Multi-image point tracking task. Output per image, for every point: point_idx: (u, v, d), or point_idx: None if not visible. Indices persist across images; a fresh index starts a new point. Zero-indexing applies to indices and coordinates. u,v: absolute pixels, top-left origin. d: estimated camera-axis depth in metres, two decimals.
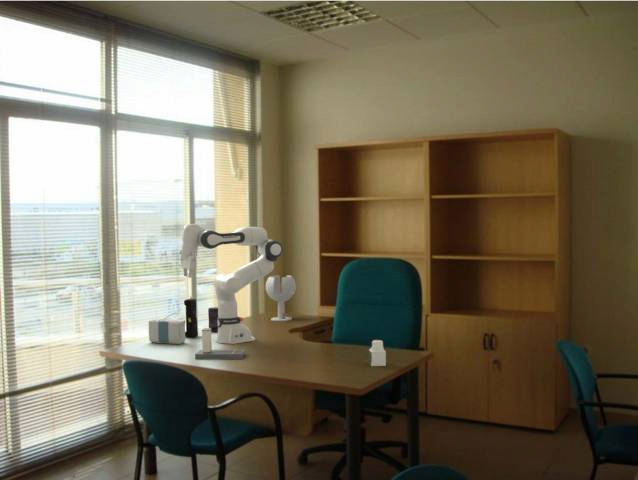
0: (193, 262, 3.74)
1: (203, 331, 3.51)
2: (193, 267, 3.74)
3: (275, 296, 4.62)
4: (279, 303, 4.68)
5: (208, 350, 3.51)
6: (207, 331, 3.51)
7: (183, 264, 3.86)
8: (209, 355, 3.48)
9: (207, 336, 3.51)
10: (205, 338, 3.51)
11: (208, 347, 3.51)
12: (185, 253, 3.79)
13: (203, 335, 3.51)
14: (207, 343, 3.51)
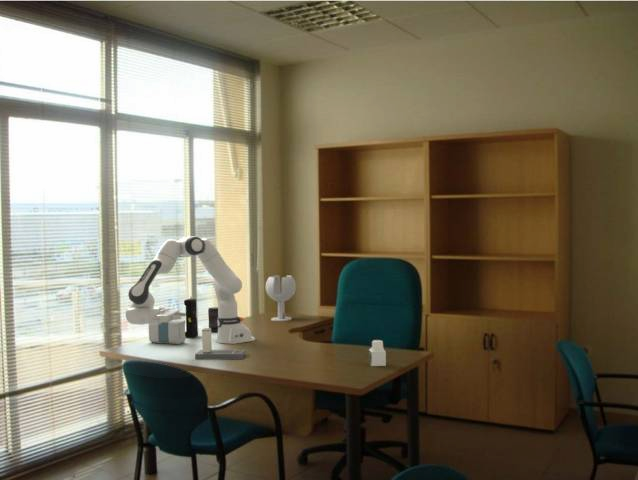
0: (161, 319, 3.45)
1: (203, 331, 3.51)
2: (166, 318, 3.44)
3: (275, 296, 4.62)
4: (279, 303, 4.68)
5: (208, 350, 3.51)
6: (207, 331, 3.51)
7: None
8: (209, 355, 3.48)
9: (207, 336, 3.51)
10: (205, 338, 3.51)
11: (208, 347, 3.51)
12: (156, 322, 3.52)
13: (203, 335, 3.51)
14: (207, 343, 3.51)
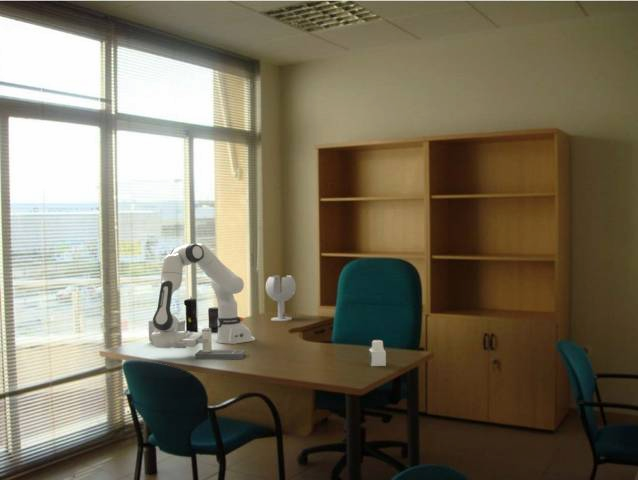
0: (187, 343, 3.44)
1: (203, 331, 3.51)
2: (192, 342, 3.44)
3: (275, 296, 4.62)
4: (279, 303, 4.68)
5: (208, 350, 3.51)
6: (207, 331, 3.51)
7: None
8: (209, 355, 3.48)
9: (207, 336, 3.51)
10: (205, 338, 3.51)
11: (208, 347, 3.51)
12: (182, 346, 3.52)
13: (203, 335, 3.51)
14: (207, 343, 3.51)
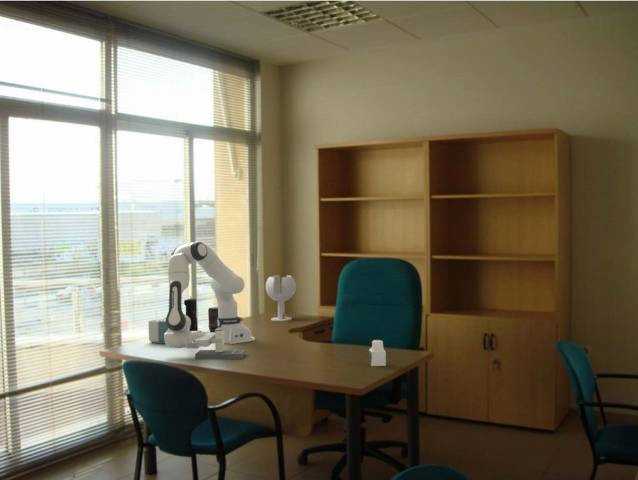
0: (200, 343, 3.44)
1: (216, 331, 3.50)
2: (205, 342, 3.43)
3: (275, 296, 4.62)
4: (279, 303, 4.68)
5: (221, 350, 3.51)
6: (220, 331, 3.50)
7: None
8: (209, 355, 3.48)
9: (220, 336, 3.50)
10: (218, 338, 3.51)
11: (221, 347, 3.51)
12: (195, 346, 3.51)
13: (216, 335, 3.51)
14: (220, 343, 3.51)
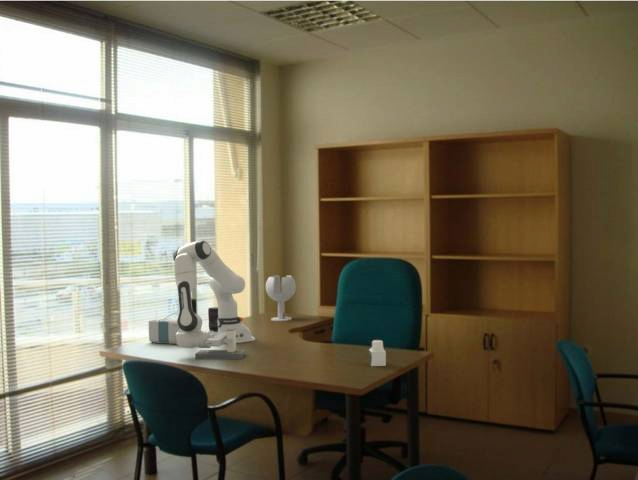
0: (212, 343, 3.44)
1: (228, 331, 3.50)
2: (217, 342, 3.43)
3: (275, 296, 4.62)
4: (279, 303, 4.68)
5: (233, 350, 3.50)
6: (232, 331, 3.50)
7: None
8: (209, 355, 3.48)
9: (232, 336, 3.50)
10: (230, 338, 3.50)
11: (233, 347, 3.50)
12: (206, 346, 3.51)
13: (228, 335, 3.50)
14: (232, 343, 3.50)
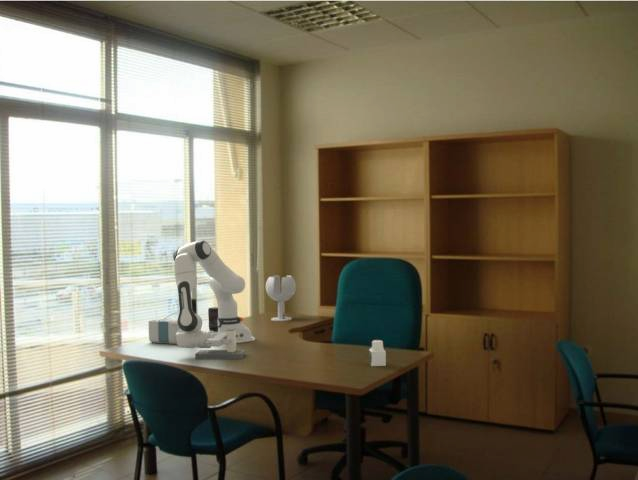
0: (212, 343, 3.44)
1: (228, 331, 3.50)
2: (217, 342, 3.43)
3: (275, 296, 4.62)
4: (279, 303, 4.68)
5: (233, 350, 3.50)
6: (232, 331, 3.50)
7: None
8: (209, 355, 3.48)
9: (232, 336, 3.50)
10: (230, 338, 3.50)
11: (233, 347, 3.50)
12: (206, 346, 3.51)
13: (228, 335, 3.50)
14: (232, 343, 3.50)
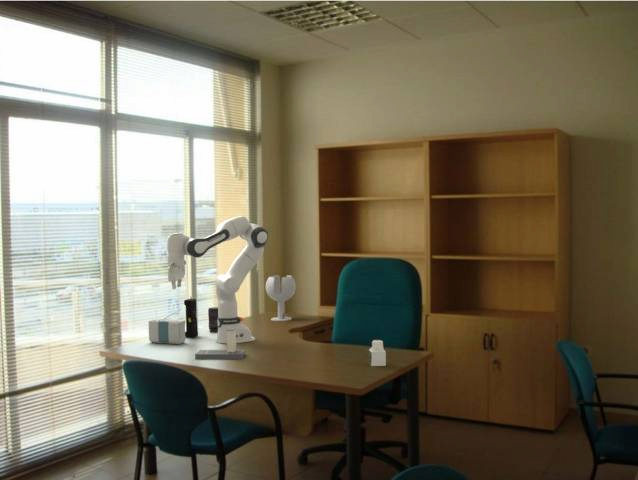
0: (171, 273, 3.60)
1: (228, 331, 3.50)
2: (171, 279, 3.60)
3: (275, 296, 4.62)
4: (279, 303, 4.68)
5: (233, 350, 3.50)
6: (232, 331, 3.50)
7: None
8: (209, 355, 3.48)
9: (232, 336, 3.50)
10: (230, 338, 3.50)
11: (233, 347, 3.50)
12: (168, 264, 3.67)
13: (228, 335, 3.50)
14: (232, 343, 3.50)
